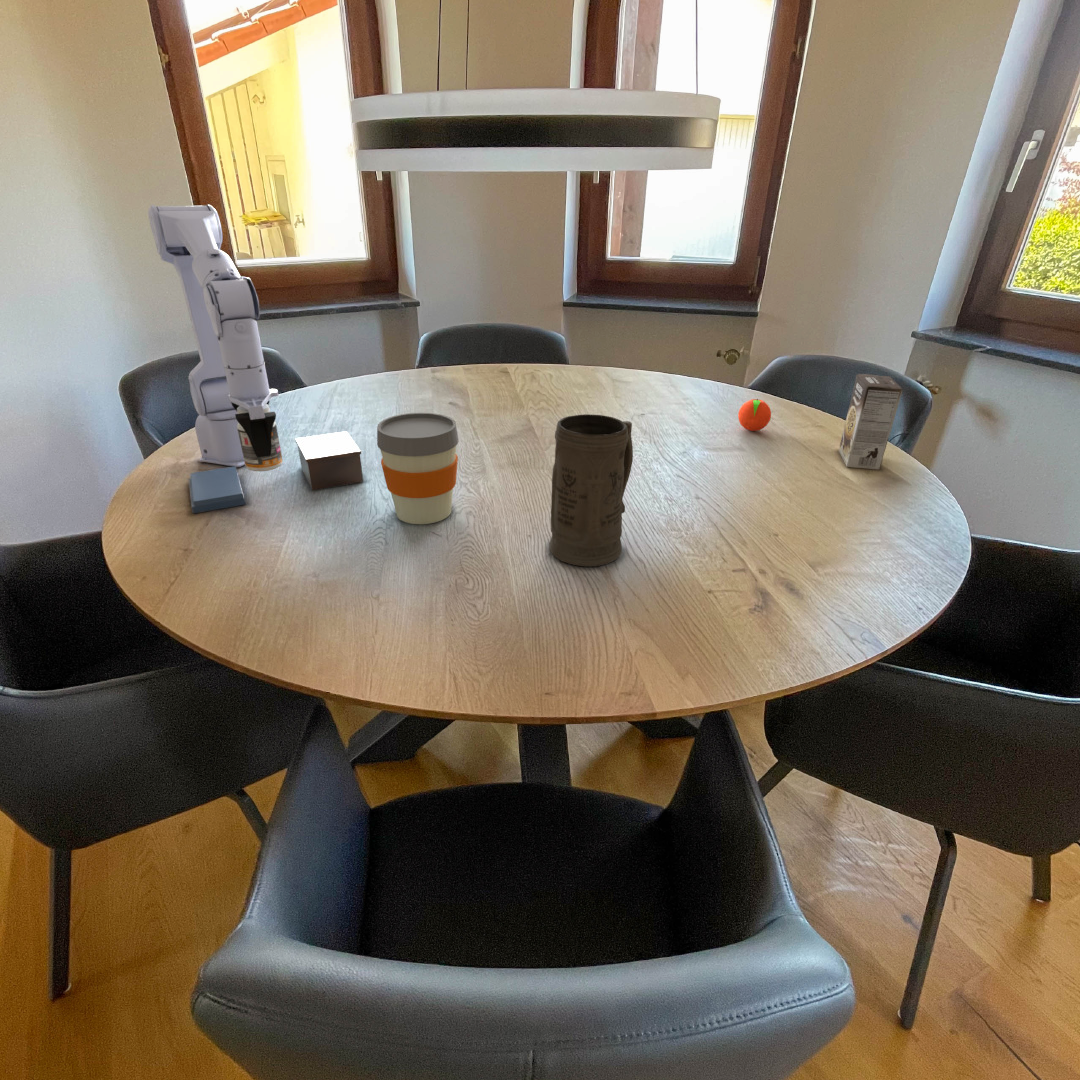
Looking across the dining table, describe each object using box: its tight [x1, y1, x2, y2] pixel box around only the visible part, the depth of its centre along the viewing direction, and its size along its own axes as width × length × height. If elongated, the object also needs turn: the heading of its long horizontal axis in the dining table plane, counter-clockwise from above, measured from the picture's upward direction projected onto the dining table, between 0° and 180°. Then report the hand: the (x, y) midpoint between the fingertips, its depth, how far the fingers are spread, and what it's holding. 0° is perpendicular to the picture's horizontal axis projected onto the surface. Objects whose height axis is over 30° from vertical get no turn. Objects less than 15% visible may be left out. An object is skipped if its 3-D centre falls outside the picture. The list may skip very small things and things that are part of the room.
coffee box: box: [838, 373, 904, 471], centre depth 128 cm, size 9×6×16 cm
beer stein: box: [549, 413, 634, 567], centre depth 95 cm, size 15×11×20 cm
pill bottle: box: [237, 404, 283, 472], centre depth 105 cm, size 6×6×10 cm
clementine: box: [737, 398, 772, 432], centre depth 145 cm, size 8×7×7 cm
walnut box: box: [294, 431, 364, 491], centre depth 120 cm, size 9×11×6 cm
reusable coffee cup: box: [376, 412, 460, 525], centre depth 105 cm, size 13×13×15 cm
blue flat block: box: [188, 466, 246, 514], centre depth 113 cm, size 8×13×2 cm, turn 27°
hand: (261, 449), depth 106 cm, fingers closed on pill bottle, 5 cm apart
